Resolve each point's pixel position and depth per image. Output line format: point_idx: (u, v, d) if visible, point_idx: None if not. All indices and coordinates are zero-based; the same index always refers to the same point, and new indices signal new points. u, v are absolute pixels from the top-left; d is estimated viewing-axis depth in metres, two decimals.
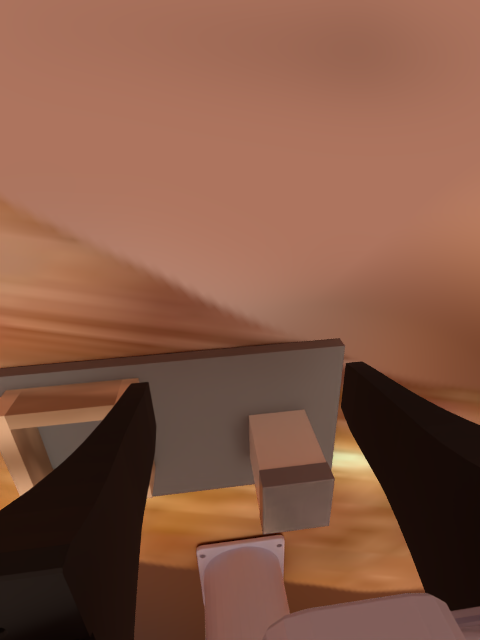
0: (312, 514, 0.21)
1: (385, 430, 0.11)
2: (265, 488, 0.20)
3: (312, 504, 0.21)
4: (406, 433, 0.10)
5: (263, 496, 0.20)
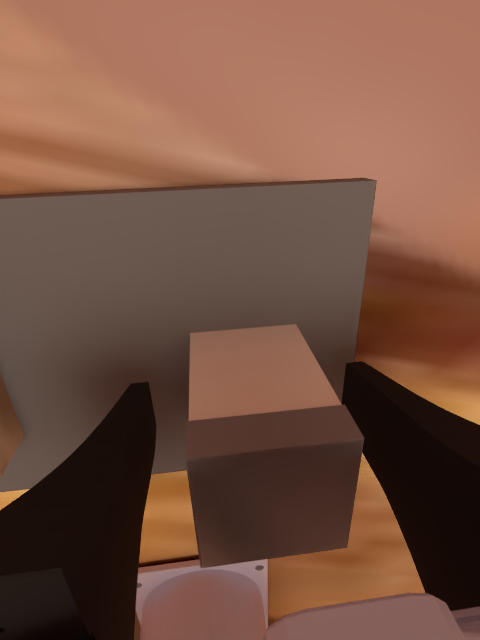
0: (310, 524, 0.09)
1: (385, 430, 0.11)
2: (193, 460, 0.08)
3: (311, 501, 0.09)
4: (406, 433, 0.10)
5: (190, 481, 0.08)
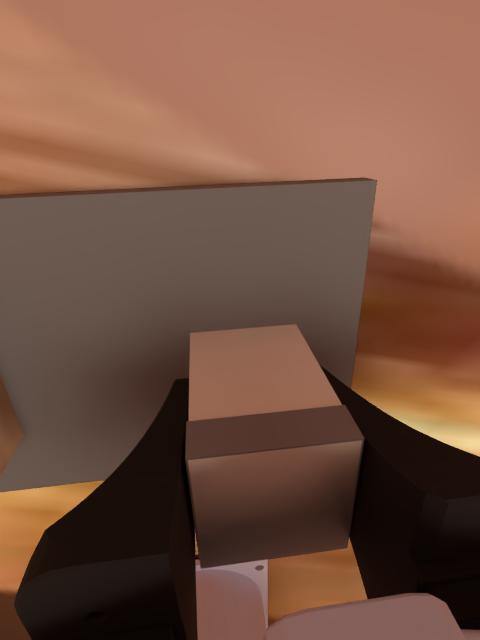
0: (310, 524, 0.09)
1: None
2: (193, 461, 0.08)
3: (311, 502, 0.09)
4: None
5: (190, 481, 0.08)
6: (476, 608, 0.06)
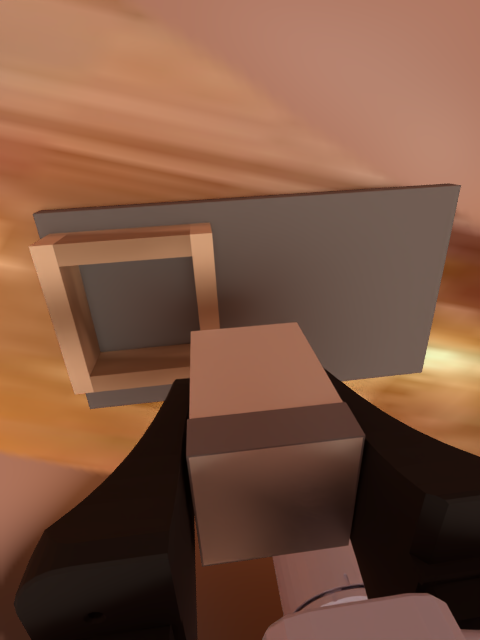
0: (312, 521, 0.09)
1: None
2: (194, 458, 0.08)
3: (312, 499, 0.09)
4: None
5: (191, 478, 0.08)
6: (476, 608, 0.06)
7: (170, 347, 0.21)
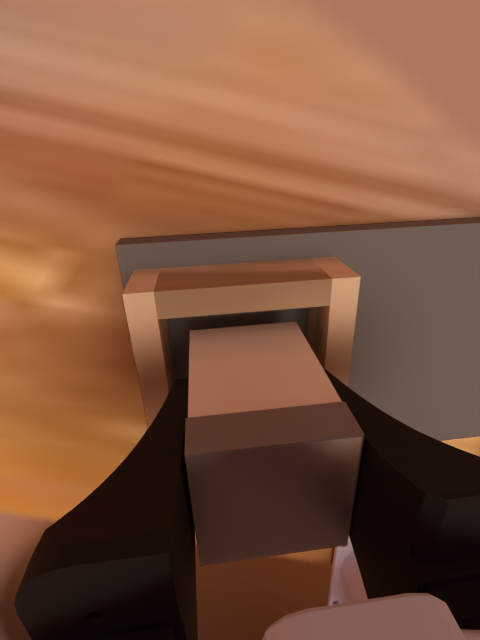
0: (310, 521, 0.09)
1: None
2: (192, 457, 0.08)
3: (311, 499, 0.09)
4: None
5: (190, 477, 0.08)
6: (476, 608, 0.06)
7: None
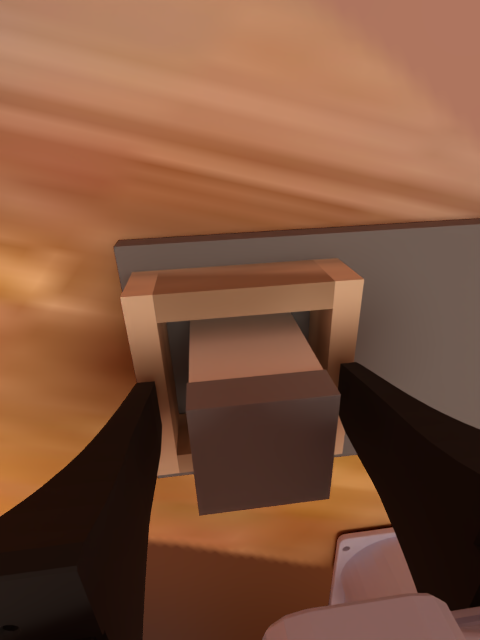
0: (296, 475, 0.11)
1: (379, 430, 0.11)
2: (192, 413, 0.09)
3: (296, 453, 0.10)
4: (399, 434, 0.10)
5: (190, 431, 0.10)
6: None
7: None
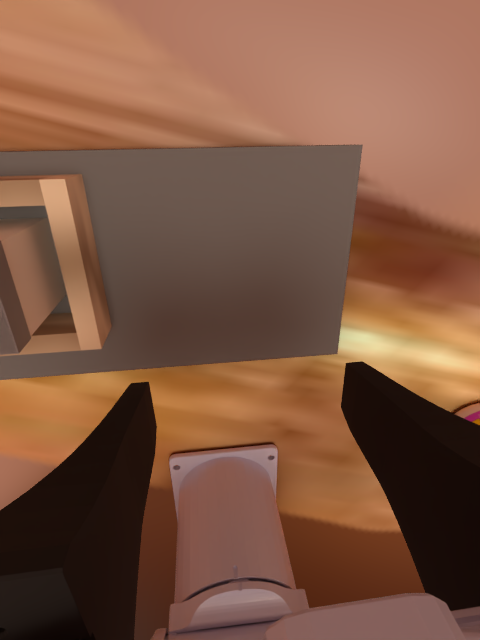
0: None
1: (385, 430, 0.11)
2: None
3: None
4: (406, 433, 0.10)
5: None
6: None
7: (51, 315, 0.19)
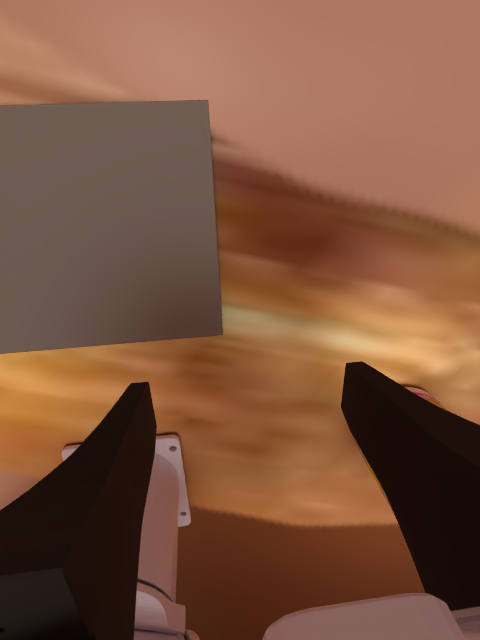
0: None
1: (385, 430, 0.11)
2: None
3: None
4: (406, 433, 0.10)
5: None
6: None
7: None
